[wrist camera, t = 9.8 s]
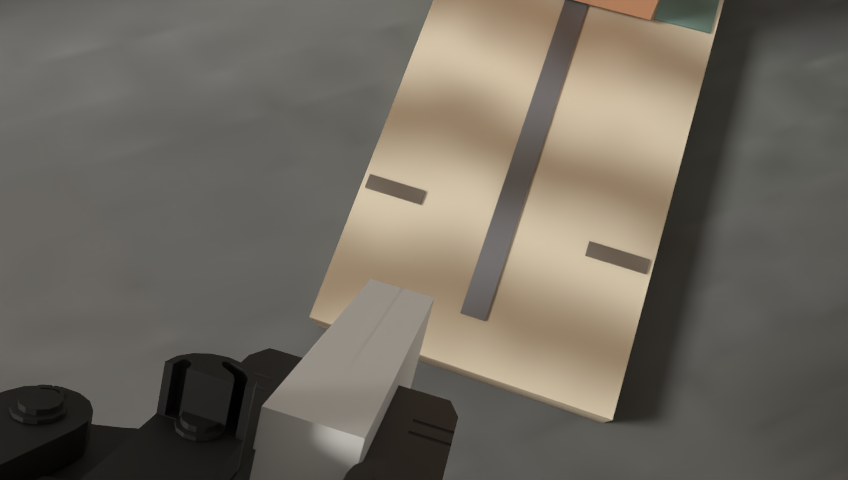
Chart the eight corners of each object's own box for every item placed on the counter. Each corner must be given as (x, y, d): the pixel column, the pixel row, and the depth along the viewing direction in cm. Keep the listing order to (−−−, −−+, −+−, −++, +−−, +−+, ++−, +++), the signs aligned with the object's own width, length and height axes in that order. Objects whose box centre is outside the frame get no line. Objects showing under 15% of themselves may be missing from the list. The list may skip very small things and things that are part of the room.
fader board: (602, 422, 28) (613, 419, 26) (319, 326, 30) (308, 316, 28) (760, -164, 36) (777, -201, 34) (528, -215, 38) (531, -252, 36)
